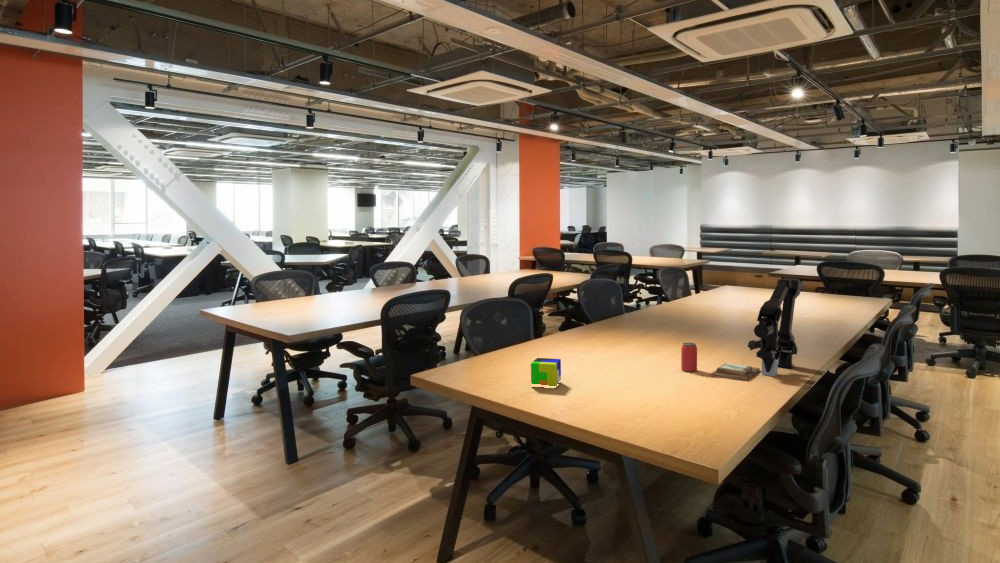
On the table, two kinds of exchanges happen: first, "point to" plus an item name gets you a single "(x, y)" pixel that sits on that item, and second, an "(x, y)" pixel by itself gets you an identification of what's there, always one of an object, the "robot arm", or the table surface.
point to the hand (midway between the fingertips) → (769, 370)
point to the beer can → (689, 357)
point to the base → (735, 371)
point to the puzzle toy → (546, 371)
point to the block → (773, 369)
